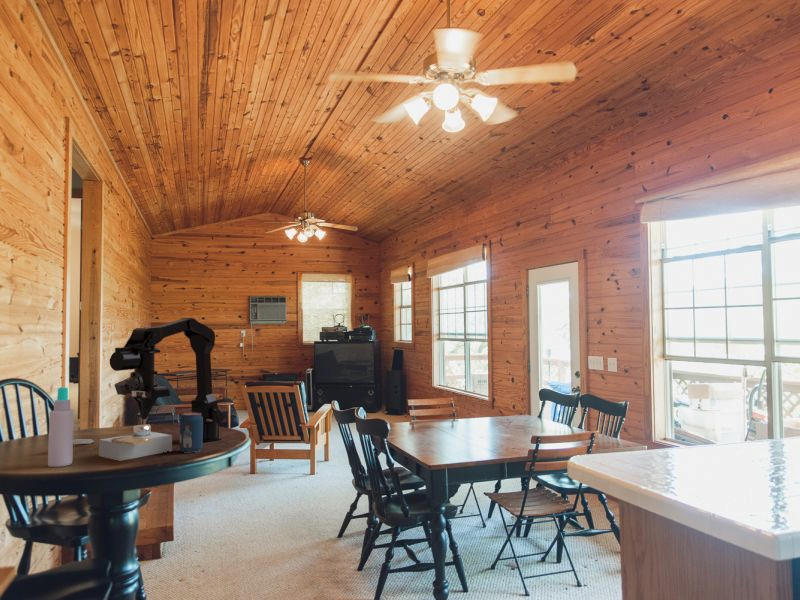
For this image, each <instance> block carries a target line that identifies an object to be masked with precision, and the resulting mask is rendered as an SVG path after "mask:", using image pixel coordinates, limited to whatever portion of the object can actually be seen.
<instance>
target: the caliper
mask: <svg viewBox="0 0 800 600" xmlns="http://www.w3.org/2000/svg"><path fill="white" fill-rule="evenodd" d="M92 443H95V440H93V439H89V438H87V439H85V438H84V439H83V438H82V439H81V438H80V439H79V438H77V439H75V438H73V445H77V444H78V445H80V444H85V445H87V444H88V445H89V444H92Z"/></svg>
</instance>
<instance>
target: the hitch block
mask: <svg viewBox="0 0 800 600" xmlns="http://www.w3.org/2000/svg"><path fill="white" fill-rule="evenodd" d="M128 437H135V436H133V434H128V435H122V436H115V437H107V438H101V439H99V441H98V446H99V447H98V457H102V458H106V459H111V460H114V461H119V462H120V461H126V460H132V459H137V458H142V457H147V456H152V455H157V454H162V453H163V452H164V453H167V451H169V452H172V449H173V434H167V433H160V432H155V431H151V433H150V435H149V436H143V437H139V438H146V439H153V442H148V443H142V444H136V445H132V444H125V443H119V442H114V440H115V439H121V438H128ZM164 453H163V454H164Z"/></svg>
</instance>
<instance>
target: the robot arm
mask: <svg viewBox="0 0 800 600" xmlns="http://www.w3.org/2000/svg"><path fill="white" fill-rule="evenodd" d="M180 333H183V334H184V336H185V337H186V338H187V339H189V340H188V341H189V345H190V347H191V349H192V351H193V352H194V354H195V369H196V370H195V373H196V396H195V398H194V399H192V400H191V402H190V404H191V410H190V411H191V412H198V413H201V415H202V417H203V442H205V443H209V442H212V441H214V442H215V441H220V440H223V439H222V438H223V437H220V424H222V423H224V419H225V415H224V414H223V413H222V412H221V410H220V408H219V405H218V400H217V398H216V397H215V395H214V394H213V385H212V384H213V382H212V381H213V380H212V363H211V362H212V359H211V358H212V356H211V352H212V350H213V349H214V347H215V344H216V334H215V331H214V330H213V329H212V328H211V327H208V325H205V324H203V323H201V322H199V321H198V320H196V319H195V318H194V317H181V318H180V319H177V320H173V321H170V322H166V323H164V324H159V325H157V326H149V327H148V326H145V327H144V326H143V327H135V328H134V329H133V330H132V332H131V335H130V336H129V338H128V339H127V341H126V343H125V344H124V346H122V347H115V349H114V352H113V353H112V354H111V356H110V359H109V365H110V368H111V369H112V370H113V371H116V372H119V371H128V370H133V371H131V372H130V375H129V377H128V378H125V379H123V380H121V381H118V382H117V383H114V384H113V385H114V389H115V391H116V393H117V394H116V395H121V396H126V395H129V394H131V396H129V399H131V400H133V401H134V402H135V404H136V406H137V408H138V409H137V410H138V412H139V414H140V417H141V420H146V419H147V418H148V417H149V416H150V415H149V414H150V412H151V411H152V408H153V406H154V404H155V403H156V401H157V400H158V399H159V398H165V397H170V396H171V389H170V388H169V387H168V386H163V385H161V386H158V384H157V383H155V375H158V371H157V370H156V369H155V367H156V366H155V363H156V362H155V361H156V360H155V357H156V356H155V354H159V353H161V350H160V349H159V348H158V347H157V346H156V345H159V343H161V342H162V341H163V340H164V339H165V338H168V337H170V336H173V335H177V334H180ZM191 412H190V413H191Z"/></svg>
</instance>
